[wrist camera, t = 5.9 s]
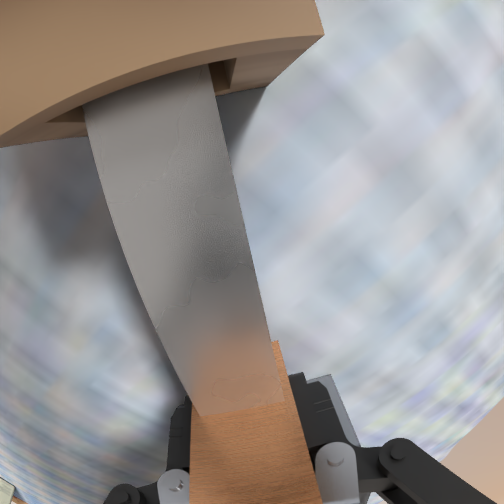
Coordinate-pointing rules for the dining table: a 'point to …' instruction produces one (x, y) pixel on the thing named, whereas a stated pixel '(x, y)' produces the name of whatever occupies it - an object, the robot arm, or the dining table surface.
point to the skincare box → (6, 492)
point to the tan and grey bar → (201, 285)
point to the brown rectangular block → (134, 52)
